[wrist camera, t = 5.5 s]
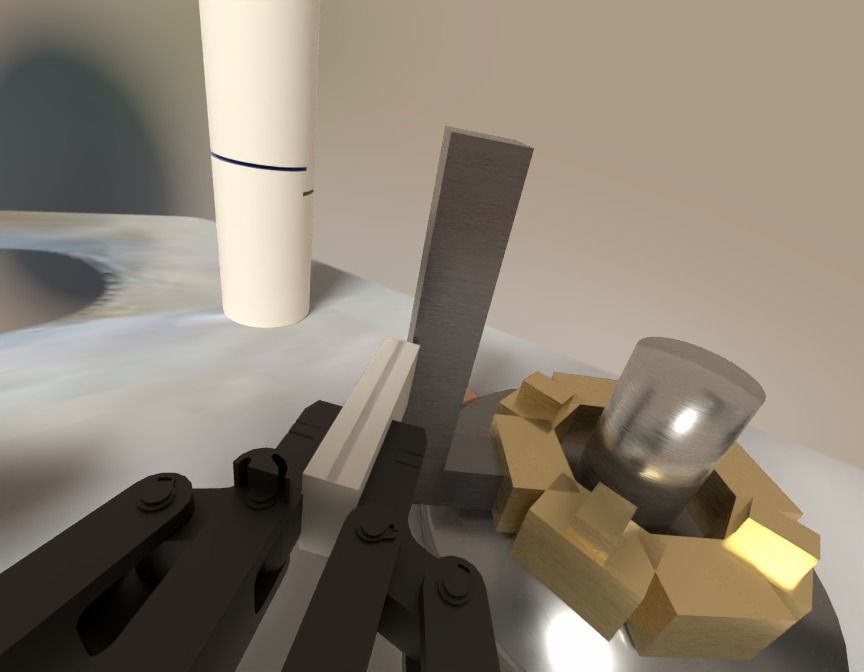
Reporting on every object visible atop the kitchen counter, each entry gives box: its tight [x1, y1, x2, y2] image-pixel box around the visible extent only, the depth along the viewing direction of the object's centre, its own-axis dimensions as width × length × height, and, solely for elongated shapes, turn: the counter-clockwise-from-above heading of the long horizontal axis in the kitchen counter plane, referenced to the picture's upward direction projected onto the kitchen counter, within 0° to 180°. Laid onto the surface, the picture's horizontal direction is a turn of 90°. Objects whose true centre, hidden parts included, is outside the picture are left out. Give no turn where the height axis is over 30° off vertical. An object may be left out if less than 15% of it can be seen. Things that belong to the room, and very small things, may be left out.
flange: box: [421, 337, 849, 672], centre depth 20 cm, size 20×20×11 cm
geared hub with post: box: [401, 126, 820, 661], centre depth 17 cm, size 19×14×16 cm
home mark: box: [462, 387, 478, 406], centre depth 32 cm, size 5×2×1 cm, turn 37°
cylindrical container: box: [199, 0, 321, 328], centre depth 31 cm, size 7×7×25 cm
